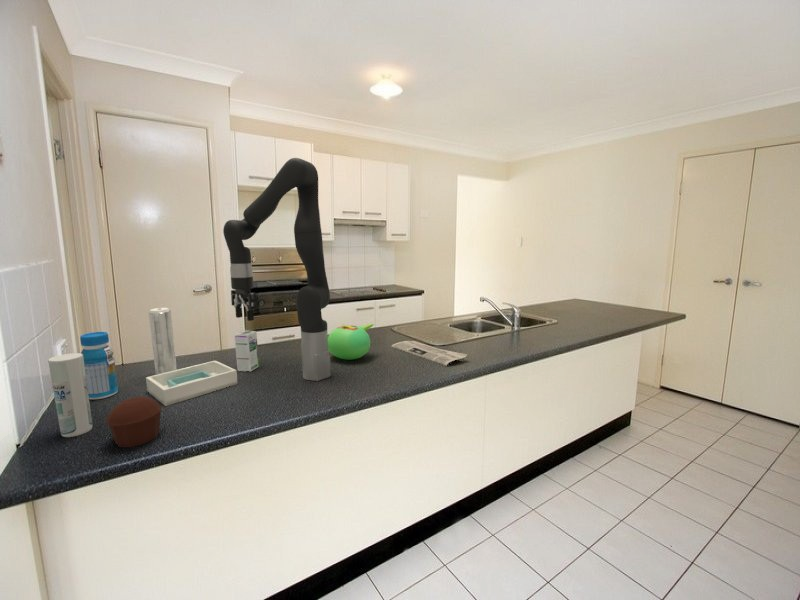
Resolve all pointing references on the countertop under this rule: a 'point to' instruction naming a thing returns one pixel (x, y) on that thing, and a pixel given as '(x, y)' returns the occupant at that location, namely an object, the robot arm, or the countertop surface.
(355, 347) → the green rounded pot shape
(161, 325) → the silver metal cylinder
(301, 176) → the robot arm
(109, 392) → the blue supplement bottle
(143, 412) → the muffin
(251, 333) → the syrup box
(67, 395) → the spray can
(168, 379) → the bin
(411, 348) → the newspaper
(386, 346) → the countertop surface
